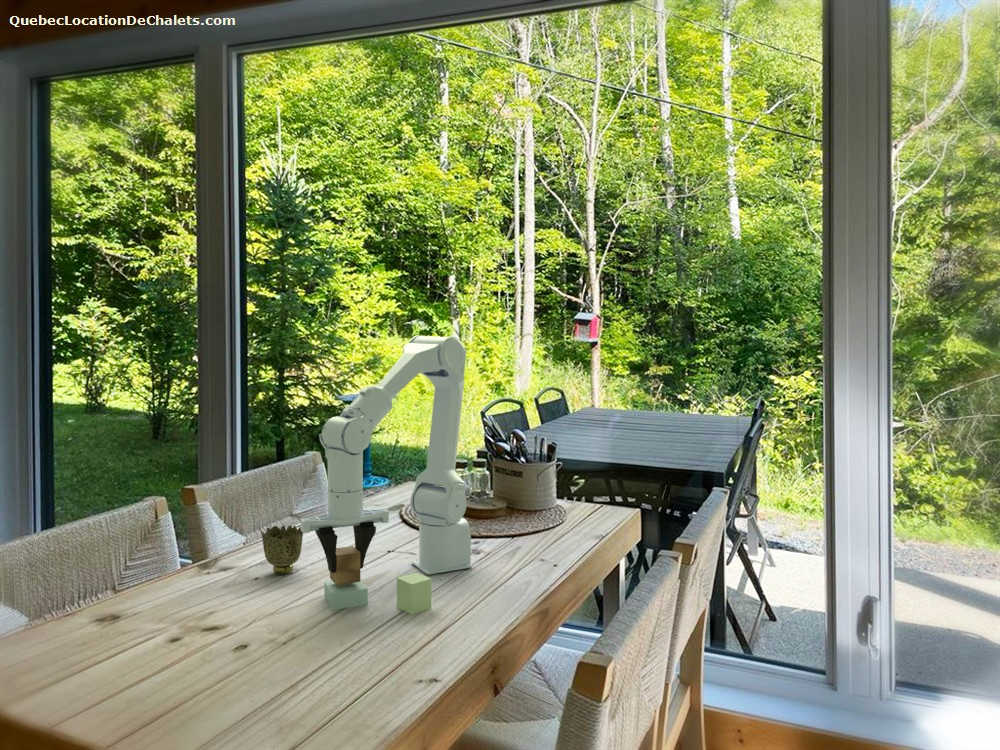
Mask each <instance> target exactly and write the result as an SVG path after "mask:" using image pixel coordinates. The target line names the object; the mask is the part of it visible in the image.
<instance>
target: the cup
mask: <svg viewBox="0 0 1000 750" xmlns="http://www.w3.org/2000/svg"><path fill="white" fill-rule="evenodd" d="M265 531H266V532H264V531H261V539H262V545H263V552H264V557H265V559H266V561H267V562H268V564H270V565H271V566H273V567H272V570H273V573H274V574H276V575H287V574H290V573H292V572H293V570H294V564H295V563H296V562H297V561H298V560H299V558H300V556H301V553H302V545H303V537H304V533H303V532H302V531H301V526H299V528H297V527H296V525H294V526H293V527H292V525H291V524H290V525H288V526H287V528H286V527H285V525H282V526H281V528H280V527H279V526H277V525H273V526H271V528H270V527H267V528H266V529H265Z"/></svg>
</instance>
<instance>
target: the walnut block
mask: <svg viewBox="0 0 1000 750" xmlns="http://www.w3.org/2000/svg"><path fill="white" fill-rule="evenodd" d="M329 578H330V581H333V582H334V583H335V584H336V585H343V584H349V583H355V582H360V579H361V569H360V552H359V551H358V550H357V549H356V548H355V546H354V545H351V546H344V547H336V573H331V572H330V571H329Z"/></svg>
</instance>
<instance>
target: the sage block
mask: <svg viewBox="0 0 1000 750" xmlns="http://www.w3.org/2000/svg"><path fill="white" fill-rule="evenodd" d="M396 608H397V609H399V610H402V611H403V612H404V613H405V612H406V613H407V614H410V615H415V614H418V613H420V612H423V611H427V610H429V609H432V578H430V576H426V575H424V574H421V573H419V572H414V573H411V574H410V573H409V574H406V575H402V576H400V577H396Z"/></svg>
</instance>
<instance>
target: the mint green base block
mask: <svg viewBox="0 0 1000 750" xmlns="http://www.w3.org/2000/svg"><path fill="white" fill-rule="evenodd" d="M323 588H324V599H325V600H326V603H327V604H328V607H329V608H330V610H332V611H333V610H340V609H345V608H346V609H348V608H355V607H361V606H368V605H369V600H368V599H369V595H368V593H369V591H368V590H369V589H368V587H367V586H366V584H365V583H364V581H363V580H362V578H360V582H355V583H349V584H343V585H336V584H335V583H334V582H333V581H332V580H328V581H327V580H326V581H324V587H323Z"/></svg>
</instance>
